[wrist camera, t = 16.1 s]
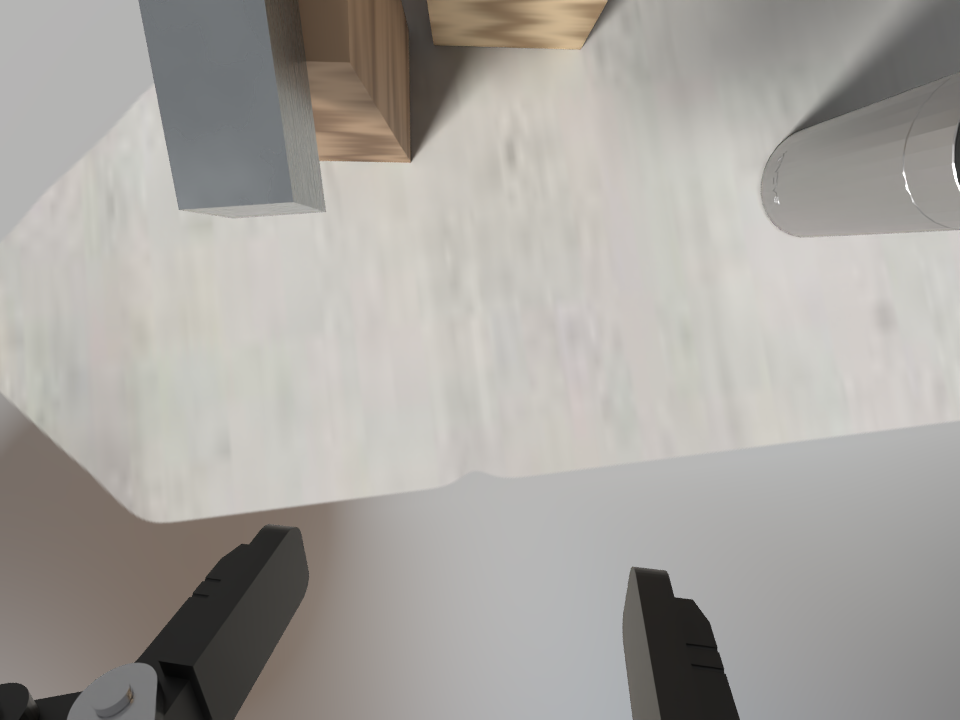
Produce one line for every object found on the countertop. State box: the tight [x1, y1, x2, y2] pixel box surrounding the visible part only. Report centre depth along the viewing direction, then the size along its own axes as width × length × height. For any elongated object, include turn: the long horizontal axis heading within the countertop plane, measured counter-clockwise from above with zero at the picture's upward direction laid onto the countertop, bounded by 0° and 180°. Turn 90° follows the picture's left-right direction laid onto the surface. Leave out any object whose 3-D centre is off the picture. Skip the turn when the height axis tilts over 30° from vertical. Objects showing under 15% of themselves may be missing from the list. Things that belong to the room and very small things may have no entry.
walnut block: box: [298, 0, 411, 163], centre depth 29 cm, size 8×10×22 cm
